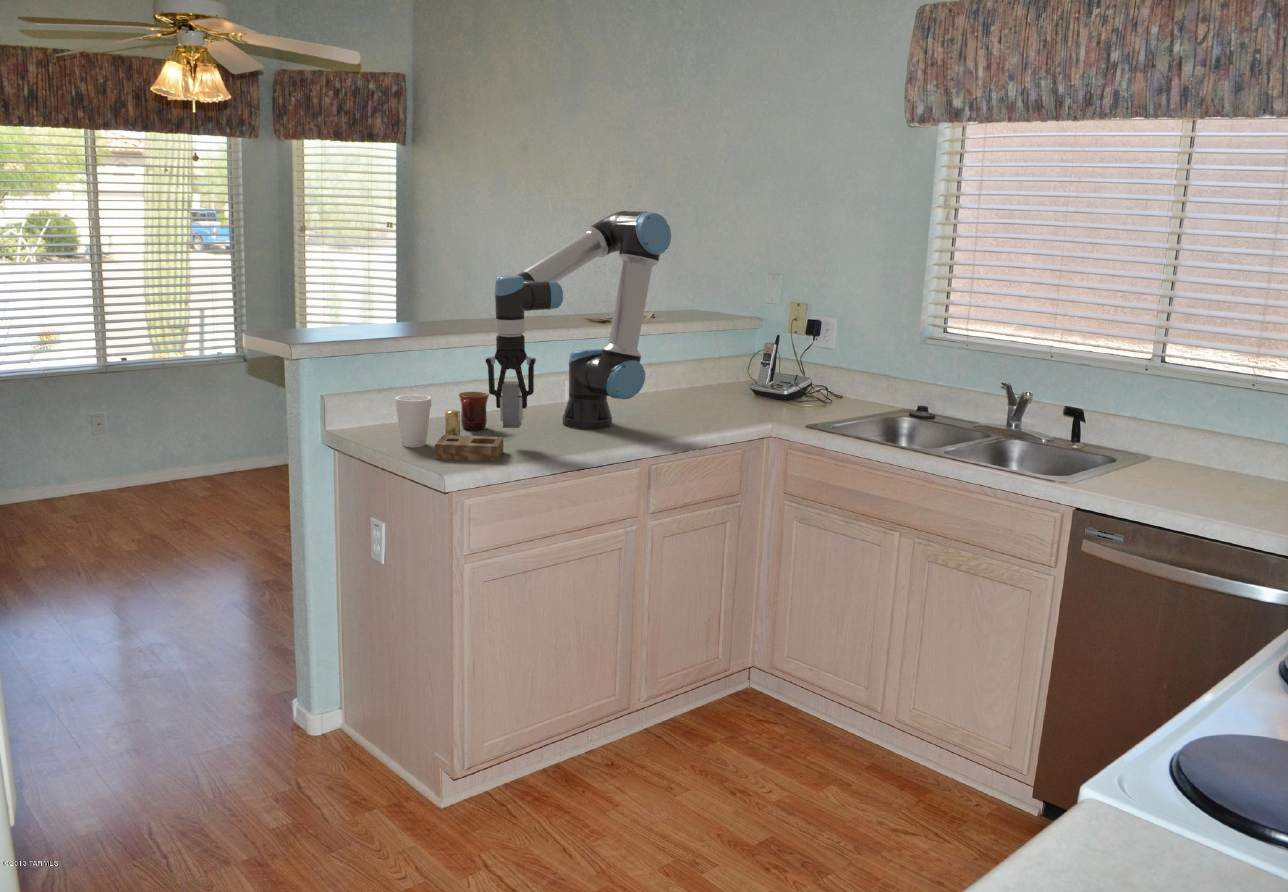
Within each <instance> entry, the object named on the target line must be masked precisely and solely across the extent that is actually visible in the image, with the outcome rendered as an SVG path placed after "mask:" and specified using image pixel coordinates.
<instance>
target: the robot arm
mask: <svg viewBox="0 0 1288 892" xmlns="http://www.w3.org/2000/svg"><path fill="white" fill-rule="evenodd" d="M671 241H672V230H671V228H670V225H669V224H668V221H667V219H666V218H665V217H664V216H663V215H662V214H660V213H657V212H653V211H646V210H644V211H634V210H633V211H630V210H621V211H618V212H614V213H612V214H610V215H608V216H606V217H603V218H602V219H600V220H599V221H597V222H595V223H594V224H591V225H590V226H588V227H587V228H586V229H585V231H584V234H582V235H581V236H578V237H577V238H576V239H574V240H572V241H571V242H569V243H568V244H565V245H564V246H562V247H561V248H559V249H558V250H556V251H554V252H552V253H551V254H550V255H548V256H546V257H544V258H543V259H541V260H540V261H538V262H536V263H534V264H533V265H532V266H530V267H528V268H526V269H525V270H523V271H521V272H520V273H517V274H516V275H500V276H497V277H496V279H495V285H494V297H495V299H494V301H495V333H496V334H497V335H496V338H495V340H496V341H495V342H496V346H495V347H496V351H495V354H494V355H493V356H487V357H486V359H485V363H486V366H487V374H488V394H489V395H492V396H494V397H495V405H496V409H500V410H499V411H500V422H503V408H502V383H503V382H504V381H505V378H506V373H507V371H508V370H513V371H515V374H516V377H517V381H518V383H519V387H520V391H521V396H520V397H519V421H521V422H523V421H524V409H527V407H528V396H532V395H533V394H534V392H535V391H534V390H535V383H534V382H535V381H534V380H535V377H534V376H535V374H534V373H535V364H536V361H537V359H536V357H531V356H529V355H528V354H527V353H526V345H525V343H526V342H525V341H526V340H525V337H526V336H524V333H525V312H529V311H543V310H547V311H550V310H553V309H558V308H560V307H561V306H562V304H563V300H564V291H563V287H562V285H561V284H560V283H559V281H561V280H562V279H564V278H566V277H567V276H568V275H570V274H572V273H574V272H575V271H576V270H577V271H578V269H580V268H582V267H584V266H585V265H586V264H588V263H590V262H591V261H593V260H595V259H596V258H597V257H599V258H604V257H606V256H608V255H609V254H612V253H616V252H617V253H619V254H618V255H619V258H620V259H621V261H622V266H621V270H620V276H619V283H618V288H617V295H616V299H615V300H616V301H615V305H614V310H613V315H612V316H613V317H612V320H611V327H610V333H609V336H608V337H609V338H608V343H607V344H606V345H605V346H604V347H602V348H591V349H589V348H588V349H575V350H573V351H571V352H570V354H569V360H568V400H567V403H566V406H565V408H564V409H565V410H564V412H563V413H562V414H563V415H562V425H563V426H565V427H568V428H572V429H582V430H599V429H606V428H610V427H612V425H613V416H612V413H611V409H610V406H609V403H608V397H609V398H613V399H617V400H618V399H619V400H629V399H632V398H634V397H635V396H636V395H637V394H639V393H640V392H641V390H642V389H643V387H644V384H645V382H646V371H645V368H644V365H643V364H642V363H641V360H642V354H641V353H640V351H639V350H638V346H639V342H640V336H641V335H640V334H641V331H642V326H643V325H642V324H643V320H644V313H645V308H646V303H647V297H648V292H649V286H650V281H651V275H652V271H653V270H652V269H653V268H654V267H655V266H656V265H657V264H659V261H660V257H661V256H660V255H662V254H664V253H665V252H666V251H667V250H668V248H669V247H670V245H671ZM496 361H497V363H498V364H499V365H500V372H499V373H500V374H499V378H498V381H497V385H495V366H494V365H495V364H496ZM525 361H526V365H527V366H528V369H527V371H528V372H527V373H528V374H527V380H528V381H527V385H528V387H526V382H525V380H524V375H523V369H522V366H523V363H524V362H525ZM495 386H497V387H496V389H495Z"/></svg>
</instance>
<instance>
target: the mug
mask: <svg viewBox="0 0 1288 892" xmlns="http://www.w3.org/2000/svg"><path fill="white" fill-rule="evenodd" d="M489 396H490V393H489V392H484V391H464V392H460V393H459V394H458V397H459V400H460V405H461V406H460V407H461V411H460V424H461V427H462V428H463V430H466V431H481V430H484V429H485V428H486V427H487V421H488V420H487V419H488V417H487V416H488V415H487V414H488V412H487V411H488V409H487V404H488V399H489Z"/></svg>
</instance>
